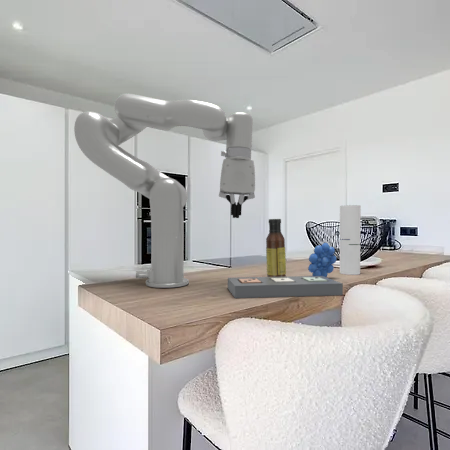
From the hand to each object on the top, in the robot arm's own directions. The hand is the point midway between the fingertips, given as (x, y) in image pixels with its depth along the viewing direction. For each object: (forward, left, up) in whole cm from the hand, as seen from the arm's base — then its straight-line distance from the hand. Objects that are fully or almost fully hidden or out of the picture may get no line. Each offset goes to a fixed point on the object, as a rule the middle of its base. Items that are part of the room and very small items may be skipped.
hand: (235, 217), depth 95 cm
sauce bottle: (+15, +8, -20) cm, 26 cm away
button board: (+11, -11, -20) cm, 25 cm away
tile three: (+2, -11, -20) cm, 23 cm away
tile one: (+11, -11, -20) cm, 25 cm away
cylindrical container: (+46, +17, -20) cm, 53 cm away
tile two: (+20, -11, -20) cm, 30 cm away
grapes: (+30, +7, -20) cm, 37 cm away
